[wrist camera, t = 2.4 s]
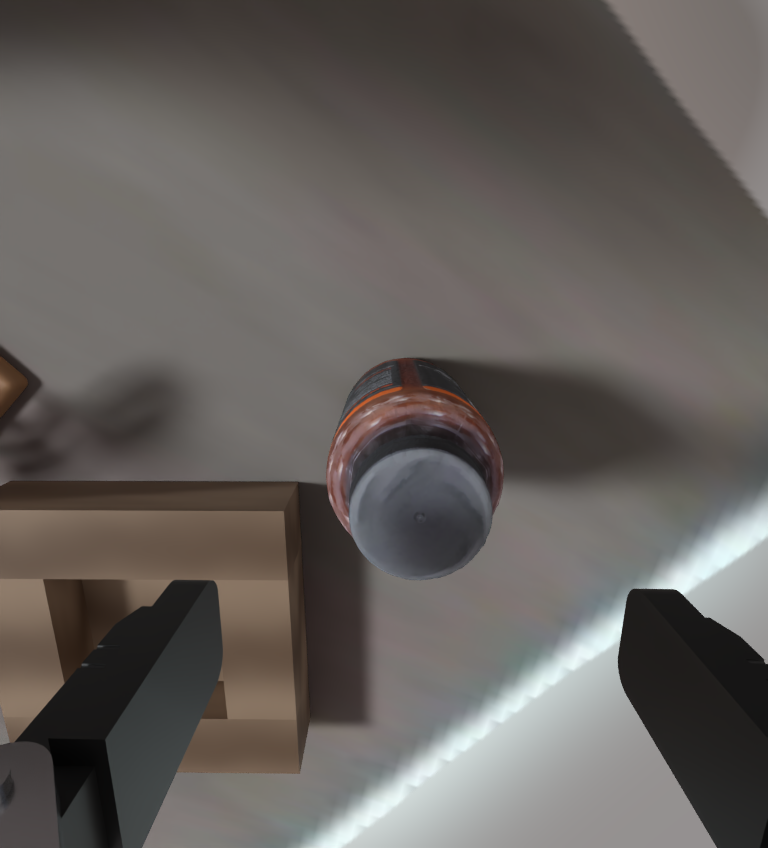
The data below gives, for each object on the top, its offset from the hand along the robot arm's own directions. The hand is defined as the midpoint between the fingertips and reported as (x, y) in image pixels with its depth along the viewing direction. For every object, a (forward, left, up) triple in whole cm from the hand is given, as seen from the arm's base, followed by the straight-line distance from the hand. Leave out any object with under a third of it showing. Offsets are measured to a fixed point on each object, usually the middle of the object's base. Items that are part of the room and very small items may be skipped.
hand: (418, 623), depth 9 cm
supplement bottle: (0, 0, -15) cm, 15 cm away
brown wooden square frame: (+11, -13, -15) cm, 22 cm away
